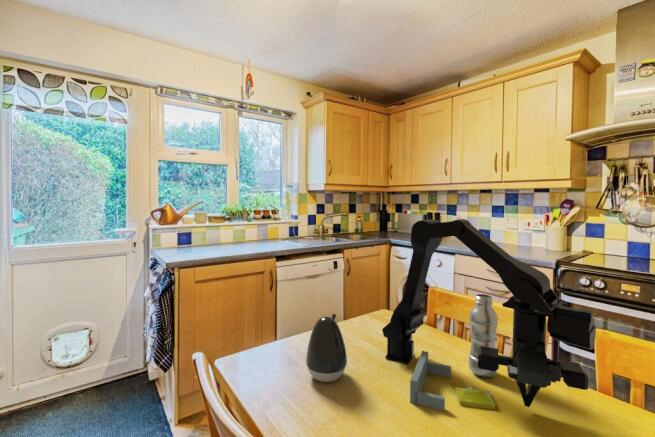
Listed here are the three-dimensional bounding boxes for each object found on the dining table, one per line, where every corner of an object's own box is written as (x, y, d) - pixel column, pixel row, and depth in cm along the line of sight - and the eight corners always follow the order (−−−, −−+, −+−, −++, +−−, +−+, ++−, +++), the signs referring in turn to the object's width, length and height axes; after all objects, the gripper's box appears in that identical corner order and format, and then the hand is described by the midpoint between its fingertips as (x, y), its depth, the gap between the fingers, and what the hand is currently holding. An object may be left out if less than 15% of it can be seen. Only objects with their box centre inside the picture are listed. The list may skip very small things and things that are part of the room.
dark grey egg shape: (353, 370, 83) (353, 313, 82) (337, 392, 74) (337, 327, 73) (317, 362, 87) (317, 307, 86) (298, 382, 78) (298, 320, 77)
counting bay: (410, 402, 70) (410, 380, 70) (422, 369, 83) (422, 350, 83) (444, 411, 67) (444, 388, 66) (450, 375, 80) (451, 356, 80)
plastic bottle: (501, 382, 77) (503, 300, 76) (471, 379, 79) (472, 299, 78) (493, 368, 84) (494, 293, 82) (465, 366, 85) (466, 291, 84)
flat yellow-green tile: (453, 411, 68) (453, 398, 68) (447, 387, 77) (447, 375, 77) (505, 418, 65) (505, 405, 65) (493, 392, 74) (493, 380, 74)
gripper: (478, 339, 63) (476, 416, 63) (599, 359, 54) (595, 447, 55) (478, 320, 73) (477, 386, 73) (581, 334, 64) (578, 409, 65)
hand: (526, 405), depth 67 cm, fingers closed
